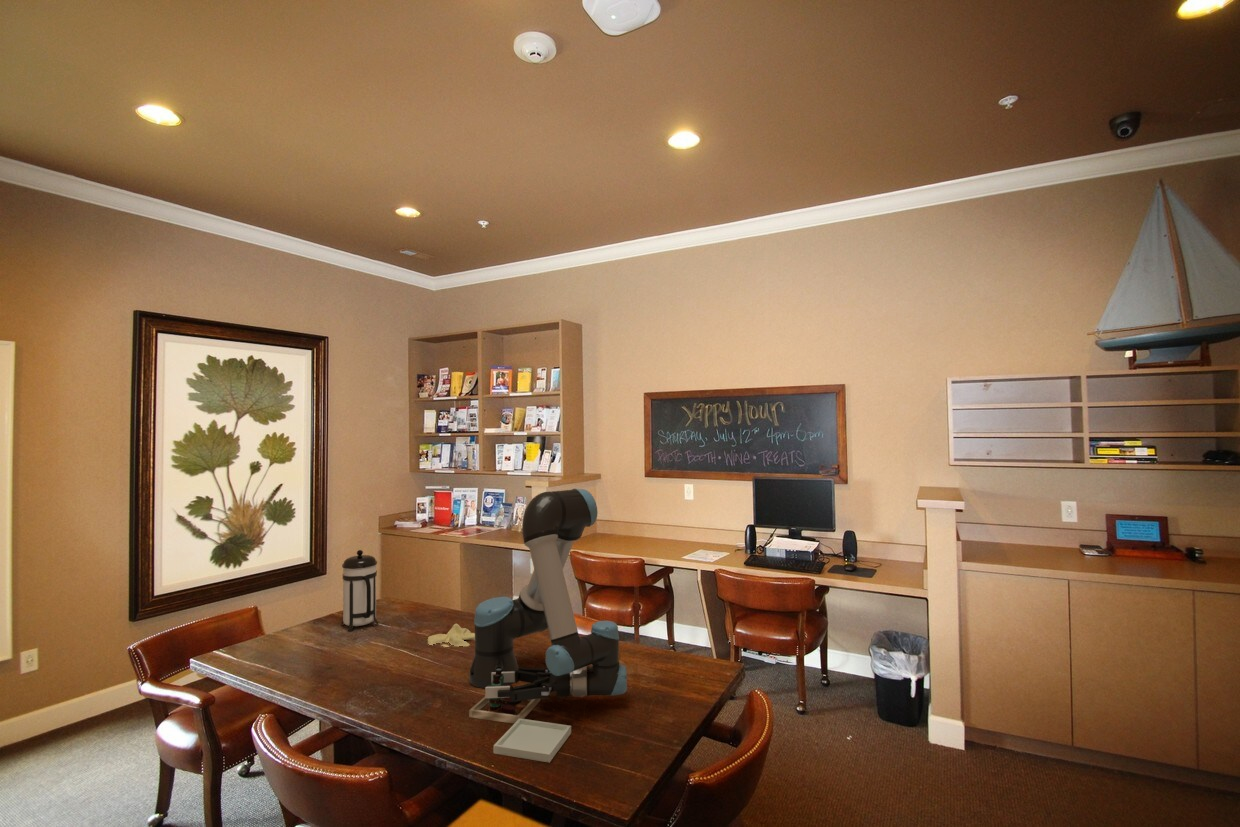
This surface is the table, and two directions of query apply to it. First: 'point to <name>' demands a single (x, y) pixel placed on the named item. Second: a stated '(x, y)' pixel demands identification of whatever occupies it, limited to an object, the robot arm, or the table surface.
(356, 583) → the coffee press
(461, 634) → the cloth
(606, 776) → the table surface
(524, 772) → the table surface
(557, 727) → the tray
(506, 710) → the binoculars
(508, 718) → the holder
